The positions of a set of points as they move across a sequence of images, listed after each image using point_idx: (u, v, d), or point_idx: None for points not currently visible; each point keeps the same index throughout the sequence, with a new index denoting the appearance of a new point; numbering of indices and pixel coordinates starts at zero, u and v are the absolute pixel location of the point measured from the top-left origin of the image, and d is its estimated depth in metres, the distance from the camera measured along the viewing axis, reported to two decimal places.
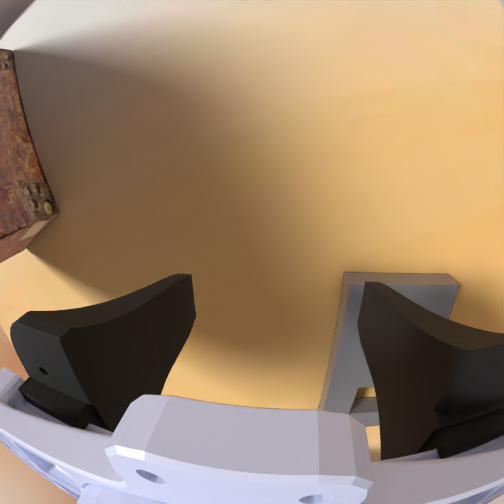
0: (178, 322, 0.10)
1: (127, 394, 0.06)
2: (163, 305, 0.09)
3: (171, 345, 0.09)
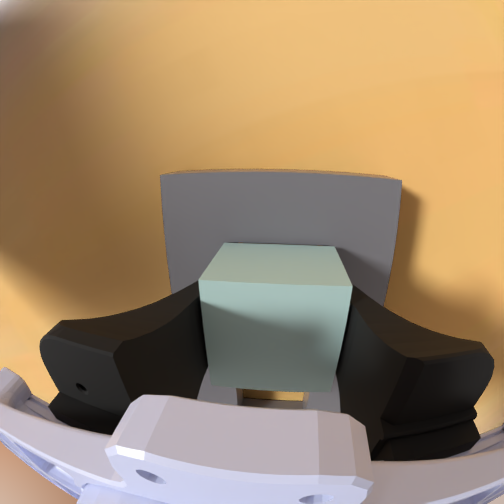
0: None
1: None
2: None
3: None
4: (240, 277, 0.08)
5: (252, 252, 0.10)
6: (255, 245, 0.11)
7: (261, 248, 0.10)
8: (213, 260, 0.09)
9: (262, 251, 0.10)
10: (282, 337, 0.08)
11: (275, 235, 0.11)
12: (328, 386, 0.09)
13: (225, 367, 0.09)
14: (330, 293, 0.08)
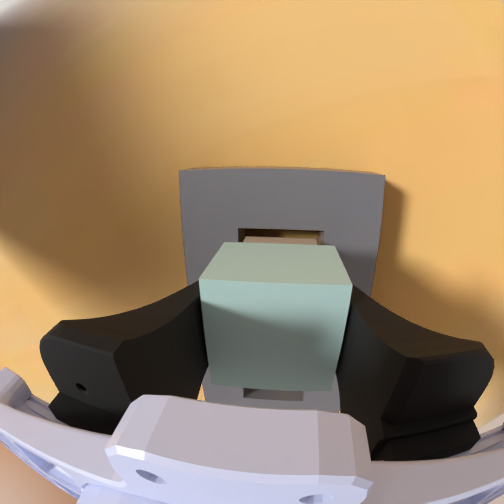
0: None
1: None
2: (200, 309, 0.09)
3: (206, 350, 0.09)
4: (241, 276, 0.08)
5: (252, 251, 0.10)
6: (255, 244, 0.11)
7: (261, 247, 0.11)
8: (213, 259, 0.09)
9: (262, 250, 0.10)
10: (282, 335, 0.08)
11: (277, 222, 0.13)
12: (328, 385, 0.09)
13: (225, 366, 0.09)
14: (330, 293, 0.08)
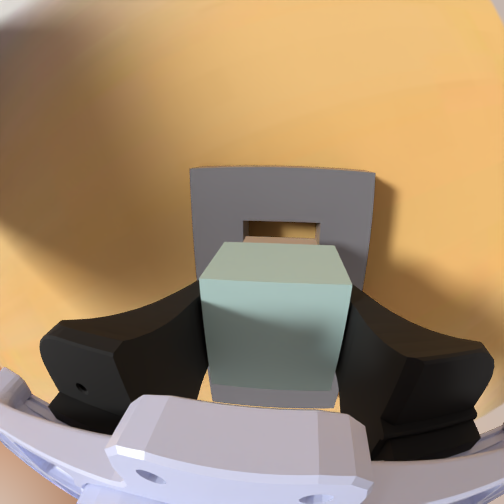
0: None
1: None
2: (200, 309, 0.09)
3: (206, 350, 0.09)
4: (241, 275, 0.08)
5: (252, 251, 0.10)
6: (255, 244, 0.11)
7: (261, 247, 0.11)
8: (213, 259, 0.09)
9: (262, 250, 0.10)
10: (283, 335, 0.08)
11: (278, 215, 0.15)
12: (328, 385, 0.09)
13: (225, 366, 0.09)
14: (330, 292, 0.08)
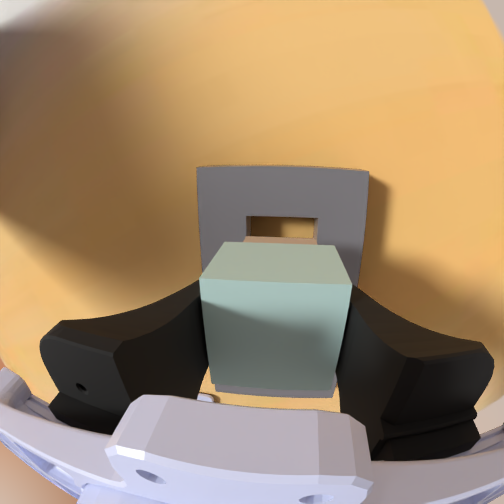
0: None
1: None
2: (201, 309, 0.09)
3: (206, 350, 0.09)
4: (241, 275, 0.08)
5: (252, 251, 0.10)
6: (255, 244, 0.11)
7: (261, 247, 0.11)
8: (214, 259, 0.09)
9: (262, 250, 0.10)
10: (283, 335, 0.08)
11: (279, 210, 0.16)
12: (328, 384, 0.09)
13: (226, 365, 0.09)
14: (330, 292, 0.08)
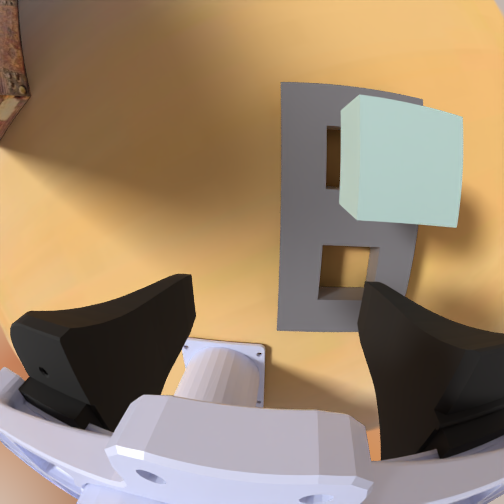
0: (178, 322, 0.10)
1: (127, 394, 0.06)
2: (163, 305, 0.09)
3: (171, 345, 0.09)
4: (388, 101, 0.08)
5: None
6: None
7: None
8: (351, 102, 0.09)
9: None
10: (424, 154, 0.08)
11: None
12: (455, 219, 0.08)
13: (375, 191, 0.09)
14: (450, 119, 0.07)
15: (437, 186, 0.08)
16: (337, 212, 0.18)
